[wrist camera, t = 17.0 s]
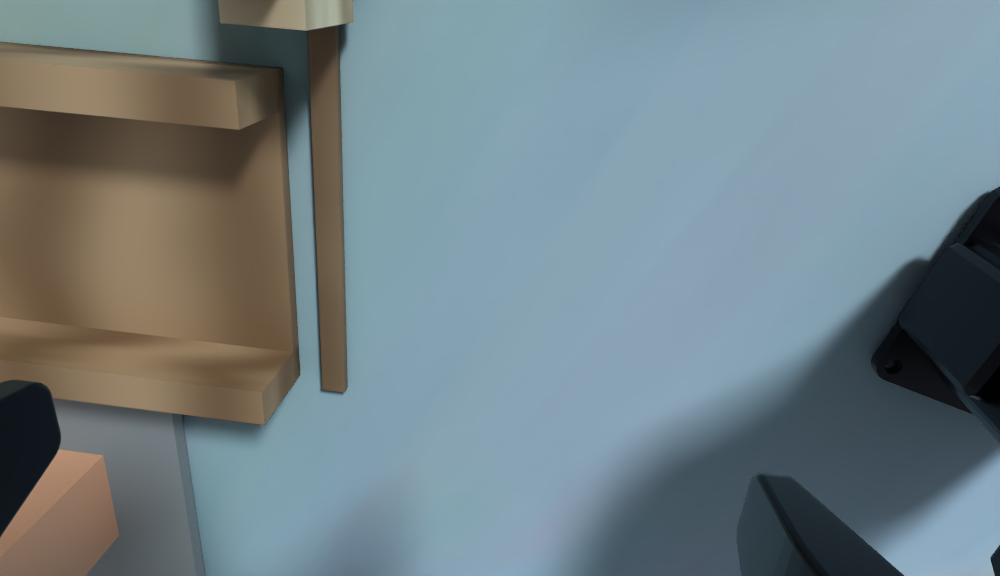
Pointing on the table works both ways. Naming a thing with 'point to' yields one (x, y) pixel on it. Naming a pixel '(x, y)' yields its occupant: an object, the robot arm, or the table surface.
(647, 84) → the table surface
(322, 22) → the gate
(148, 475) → the mat
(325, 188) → the tray
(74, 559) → the block
